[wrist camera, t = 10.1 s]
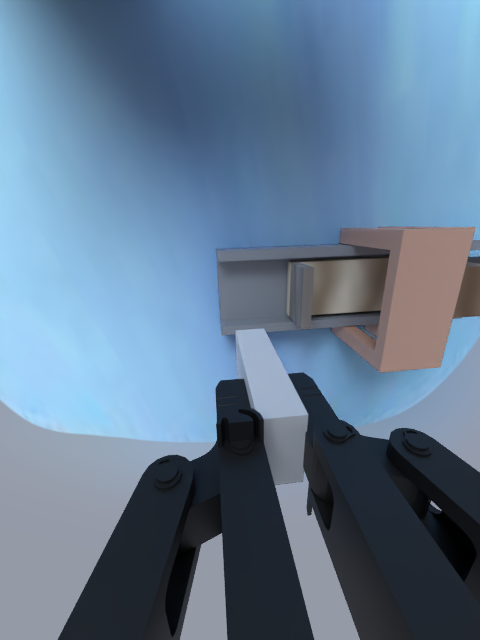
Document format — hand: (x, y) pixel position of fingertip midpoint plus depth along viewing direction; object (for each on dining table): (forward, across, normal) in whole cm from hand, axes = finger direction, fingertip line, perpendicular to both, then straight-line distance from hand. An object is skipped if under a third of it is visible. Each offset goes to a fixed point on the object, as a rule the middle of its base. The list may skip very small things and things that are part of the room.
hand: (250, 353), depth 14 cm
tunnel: (+17, +16, -1) cm, 24 cm away
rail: (+17, +14, -1) cm, 22 cm away
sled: (+16, +16, -1) cm, 23 cm away
